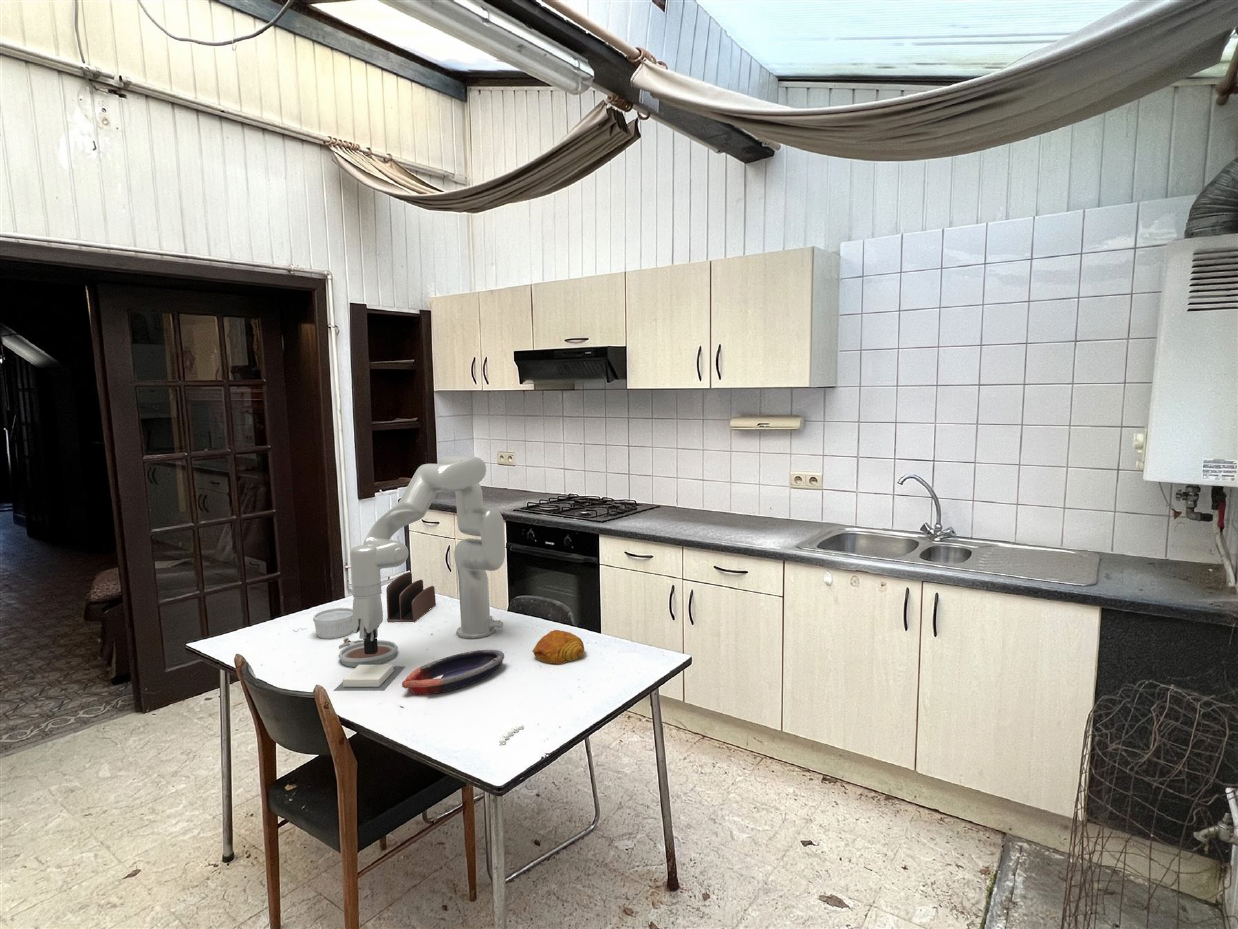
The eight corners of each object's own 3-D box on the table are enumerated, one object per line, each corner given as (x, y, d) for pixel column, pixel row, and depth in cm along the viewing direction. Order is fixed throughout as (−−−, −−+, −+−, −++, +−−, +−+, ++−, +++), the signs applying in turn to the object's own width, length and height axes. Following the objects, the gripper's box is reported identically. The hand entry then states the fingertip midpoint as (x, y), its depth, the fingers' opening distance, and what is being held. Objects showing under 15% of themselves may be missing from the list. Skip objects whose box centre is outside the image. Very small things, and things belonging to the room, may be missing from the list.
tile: (393, 664, 192) (378, 679, 182) (393, 672, 192) (379, 687, 182) (358, 664, 193) (342, 679, 183) (359, 672, 193) (343, 687, 183)
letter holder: (387, 623, 237) (384, 584, 235) (411, 605, 256) (409, 569, 255) (414, 623, 236) (411, 584, 234) (436, 605, 255) (434, 569, 254)
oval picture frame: (370, 629, 224) (407, 648, 203) (371, 637, 224) (407, 657, 204) (317, 641, 213) (350, 662, 192) (318, 650, 213) (350, 672, 192)
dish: (517, 672, 192) (516, 655, 191) (414, 707, 172) (413, 688, 171) (489, 657, 203) (488, 641, 203) (390, 688, 184) (389, 670, 183)
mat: (406, 667, 197) (405, 666, 196) (384, 692, 181) (384, 690, 181) (359, 668, 197) (359, 666, 197) (333, 692, 181) (333, 690, 181)
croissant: (561, 649, 213) (558, 624, 213) (593, 655, 202) (590, 629, 202) (523, 662, 203) (521, 635, 203) (555, 669, 192) (552, 641, 192)
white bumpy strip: (521, 722, 163) (522, 716, 163) (536, 728, 161) (537, 722, 161) (481, 751, 150) (482, 745, 149) (498, 759, 148) (498, 752, 147)
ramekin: (365, 630, 229) (363, 610, 228) (330, 643, 218) (328, 622, 217) (340, 624, 236) (339, 605, 236) (306, 636, 225) (304, 616, 225)
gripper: (365, 582, 195) (369, 643, 197) (341, 597, 180) (346, 663, 182) (390, 582, 195) (394, 643, 197) (368, 597, 180) (373, 663, 182)
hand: (371, 653), depth 190 cm, fingers closed
